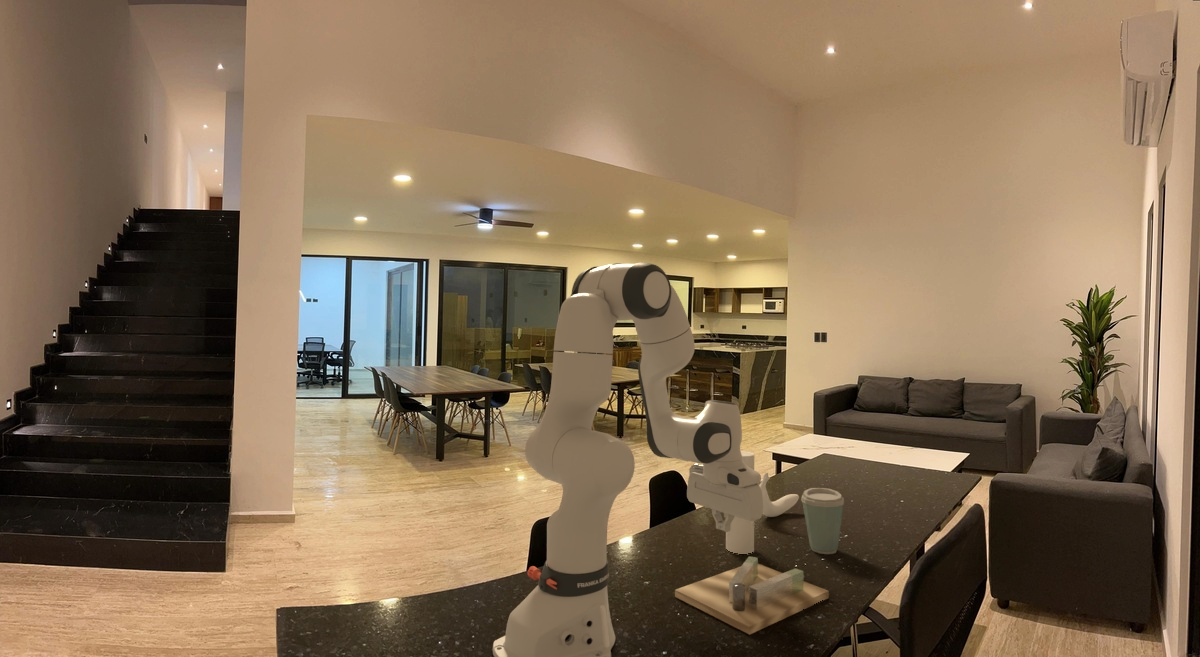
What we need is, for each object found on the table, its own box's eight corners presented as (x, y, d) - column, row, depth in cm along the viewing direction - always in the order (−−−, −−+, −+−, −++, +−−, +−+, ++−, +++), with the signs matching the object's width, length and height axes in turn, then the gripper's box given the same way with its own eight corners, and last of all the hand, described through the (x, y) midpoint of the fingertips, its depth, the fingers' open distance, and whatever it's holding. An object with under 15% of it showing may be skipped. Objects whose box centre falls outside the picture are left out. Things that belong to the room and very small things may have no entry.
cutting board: (749, 634, 114) (749, 626, 114) (674, 596, 130) (674, 589, 130) (828, 597, 129) (828, 590, 129) (753, 568, 145) (753, 561, 145)
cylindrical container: (734, 555, 153) (734, 456, 153) (721, 546, 160) (721, 451, 160) (759, 553, 155) (759, 455, 155) (745, 543, 162) (745, 450, 162)
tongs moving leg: (743, 612, 119) (743, 588, 119) (724, 608, 121) (724, 585, 121) (765, 577, 136) (765, 556, 136) (748, 573, 138) (748, 553, 138)
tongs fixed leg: (756, 610, 120) (756, 589, 120) (748, 606, 122) (748, 586, 122) (803, 590, 130) (803, 571, 130) (795, 586, 131) (795, 568, 131)
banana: (799, 512, 190) (800, 465, 190) (764, 524, 178) (764, 474, 178) (786, 508, 194) (786, 462, 194) (750, 520, 181) (750, 471, 181)
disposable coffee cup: (848, 559, 151) (848, 499, 151) (803, 555, 153) (803, 496, 153) (840, 544, 162) (840, 488, 162) (798, 541, 164) (798, 486, 164)
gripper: (680, 464, 146) (681, 521, 146) (748, 481, 130) (749, 545, 130) (699, 460, 150) (699, 515, 150) (767, 476, 133) (767, 539, 133)
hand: (723, 530), depth 140 cm, fingers closed
